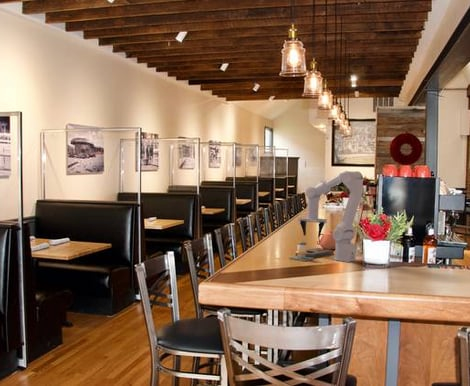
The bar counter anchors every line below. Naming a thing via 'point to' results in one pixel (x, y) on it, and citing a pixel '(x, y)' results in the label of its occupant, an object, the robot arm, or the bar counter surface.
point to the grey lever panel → (318, 252)
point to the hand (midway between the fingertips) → (311, 236)
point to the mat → (301, 259)
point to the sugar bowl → (327, 241)
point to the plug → (301, 250)
